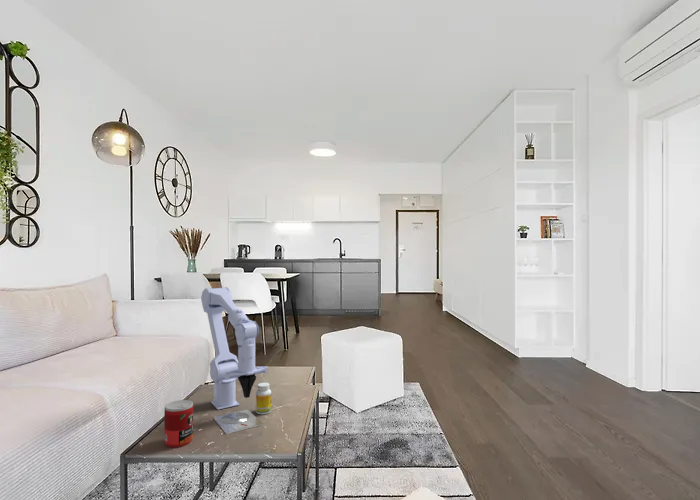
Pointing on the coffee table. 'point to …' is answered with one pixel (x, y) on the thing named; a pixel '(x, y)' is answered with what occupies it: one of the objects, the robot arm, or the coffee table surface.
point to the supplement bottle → (263, 399)
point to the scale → (237, 421)
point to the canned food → (178, 423)
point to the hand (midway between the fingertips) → (246, 396)
